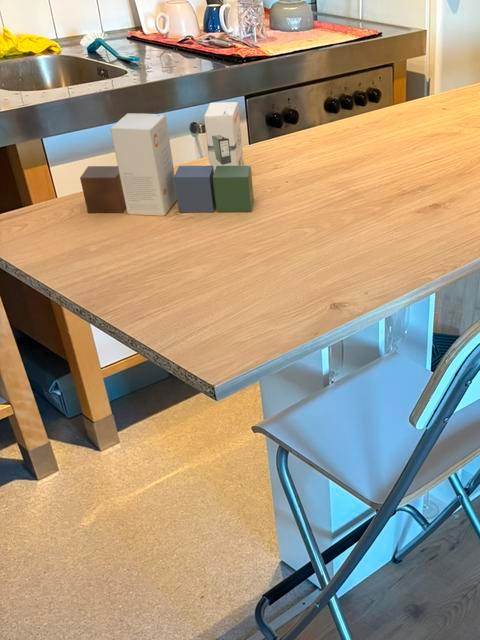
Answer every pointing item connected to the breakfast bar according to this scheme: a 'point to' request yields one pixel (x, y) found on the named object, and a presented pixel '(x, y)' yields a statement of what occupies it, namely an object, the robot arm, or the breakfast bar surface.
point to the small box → (145, 163)
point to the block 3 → (233, 188)
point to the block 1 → (103, 189)
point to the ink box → (223, 134)
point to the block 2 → (195, 188)
